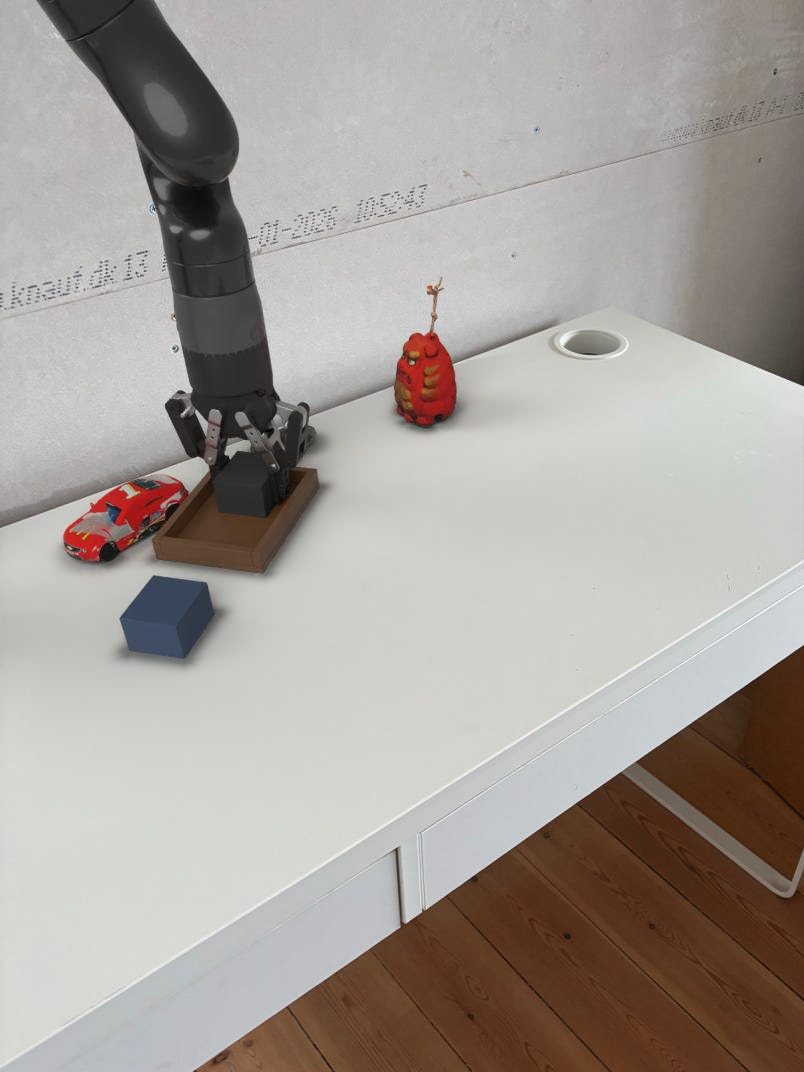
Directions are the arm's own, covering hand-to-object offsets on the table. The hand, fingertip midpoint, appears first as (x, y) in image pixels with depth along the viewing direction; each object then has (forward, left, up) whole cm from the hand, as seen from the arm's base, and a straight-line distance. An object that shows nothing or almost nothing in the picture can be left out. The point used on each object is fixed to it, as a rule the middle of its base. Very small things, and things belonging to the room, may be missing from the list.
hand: (253, 495), depth 100 cm
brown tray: (0, -3, -1) cm, 3 cm away
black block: (0, 0, 0) cm, 0 cm away
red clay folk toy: (+12, +22, -1) cm, 25 cm away
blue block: (+1, -20, -1) cm, 20 cm away
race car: (-10, -7, -1) cm, 12 cm away
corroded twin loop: (-1, +11, -1) cm, 11 cm away
